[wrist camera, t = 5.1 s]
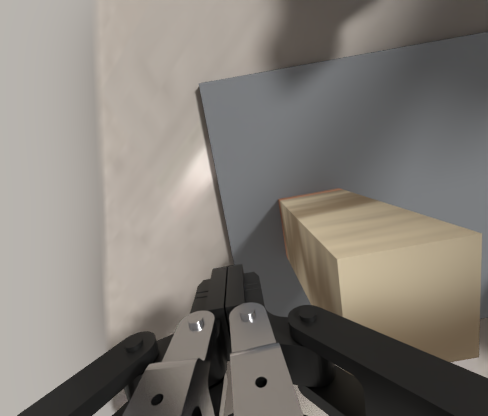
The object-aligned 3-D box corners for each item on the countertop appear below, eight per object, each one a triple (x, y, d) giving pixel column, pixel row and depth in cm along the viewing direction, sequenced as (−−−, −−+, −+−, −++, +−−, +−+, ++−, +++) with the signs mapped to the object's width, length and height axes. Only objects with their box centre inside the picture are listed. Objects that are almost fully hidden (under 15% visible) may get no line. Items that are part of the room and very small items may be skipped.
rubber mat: (199, 85, 19) (198, 83, 18) (529, 26, 19) (536, 22, 18) (252, 354, 24) (252, 358, 23) (512, 308, 24) (518, 312, 23)
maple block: (278, 199, 20) (337, 259, 9) (339, 188, 20) (482, 233, 8) (286, 256, 21) (349, 379, 10) (344, 245, 21) (478, 357, 10)
